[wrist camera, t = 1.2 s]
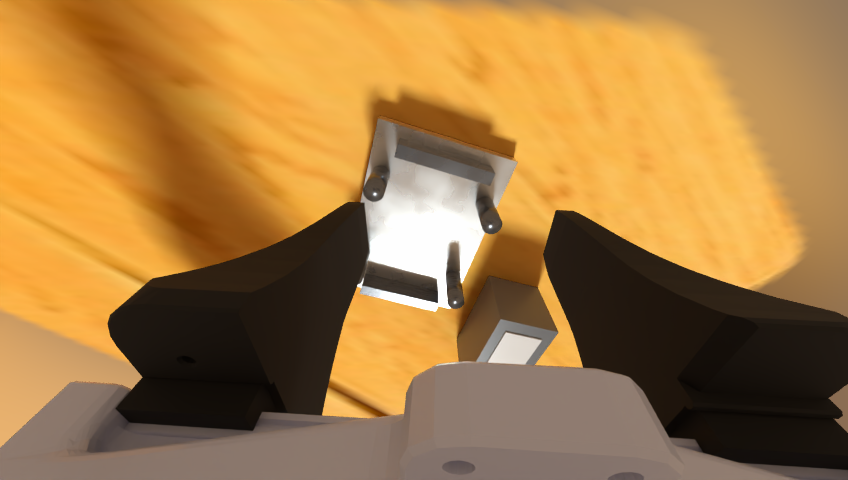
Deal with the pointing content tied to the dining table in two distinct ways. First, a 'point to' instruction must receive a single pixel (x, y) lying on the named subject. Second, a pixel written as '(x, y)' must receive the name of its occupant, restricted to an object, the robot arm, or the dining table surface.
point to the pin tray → (427, 213)
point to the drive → (506, 325)
